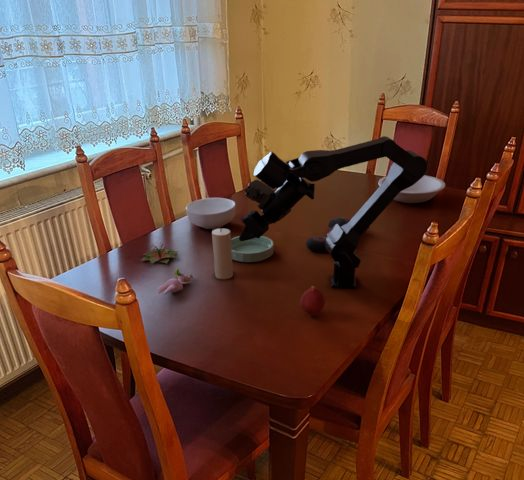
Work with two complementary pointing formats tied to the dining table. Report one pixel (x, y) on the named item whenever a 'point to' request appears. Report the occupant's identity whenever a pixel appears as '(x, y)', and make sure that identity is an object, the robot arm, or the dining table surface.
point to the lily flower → (159, 255)
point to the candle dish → (251, 249)
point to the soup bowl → (419, 190)
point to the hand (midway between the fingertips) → (248, 233)
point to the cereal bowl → (211, 212)
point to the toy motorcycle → (319, 242)
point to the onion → (312, 301)
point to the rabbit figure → (175, 283)
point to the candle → (222, 253)
